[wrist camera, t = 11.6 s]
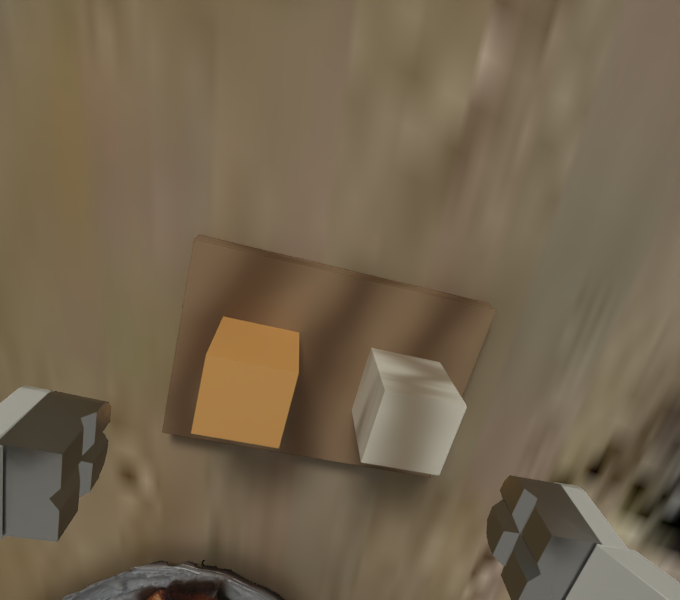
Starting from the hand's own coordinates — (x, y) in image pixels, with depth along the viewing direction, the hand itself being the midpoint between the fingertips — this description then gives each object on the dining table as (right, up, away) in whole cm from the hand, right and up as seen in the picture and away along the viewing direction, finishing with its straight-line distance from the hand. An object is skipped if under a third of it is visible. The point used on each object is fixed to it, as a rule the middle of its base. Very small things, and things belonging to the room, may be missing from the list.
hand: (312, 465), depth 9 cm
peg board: (0, -1, +23) cm, 23 cm away
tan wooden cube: (-5, -1, +21) cm, 22 cm away
